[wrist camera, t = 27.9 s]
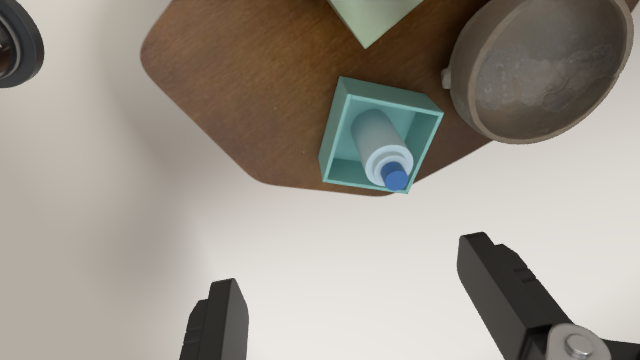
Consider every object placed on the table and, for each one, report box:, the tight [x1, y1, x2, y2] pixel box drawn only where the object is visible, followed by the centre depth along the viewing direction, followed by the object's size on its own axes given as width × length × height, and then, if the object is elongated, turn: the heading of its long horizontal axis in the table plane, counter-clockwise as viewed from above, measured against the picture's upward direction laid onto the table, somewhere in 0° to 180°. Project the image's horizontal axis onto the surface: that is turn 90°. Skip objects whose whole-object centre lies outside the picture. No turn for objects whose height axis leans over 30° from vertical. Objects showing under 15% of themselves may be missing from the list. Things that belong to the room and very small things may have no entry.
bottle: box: [351, 110, 413, 191], centre depth 42 cm, size 6×6×13 cm
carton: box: [318, 76, 444, 194], centre depth 45 cm, size 12×12×6 cm
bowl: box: [441, 0, 634, 144], centre depth 40 cm, size 17×18×10 cm
